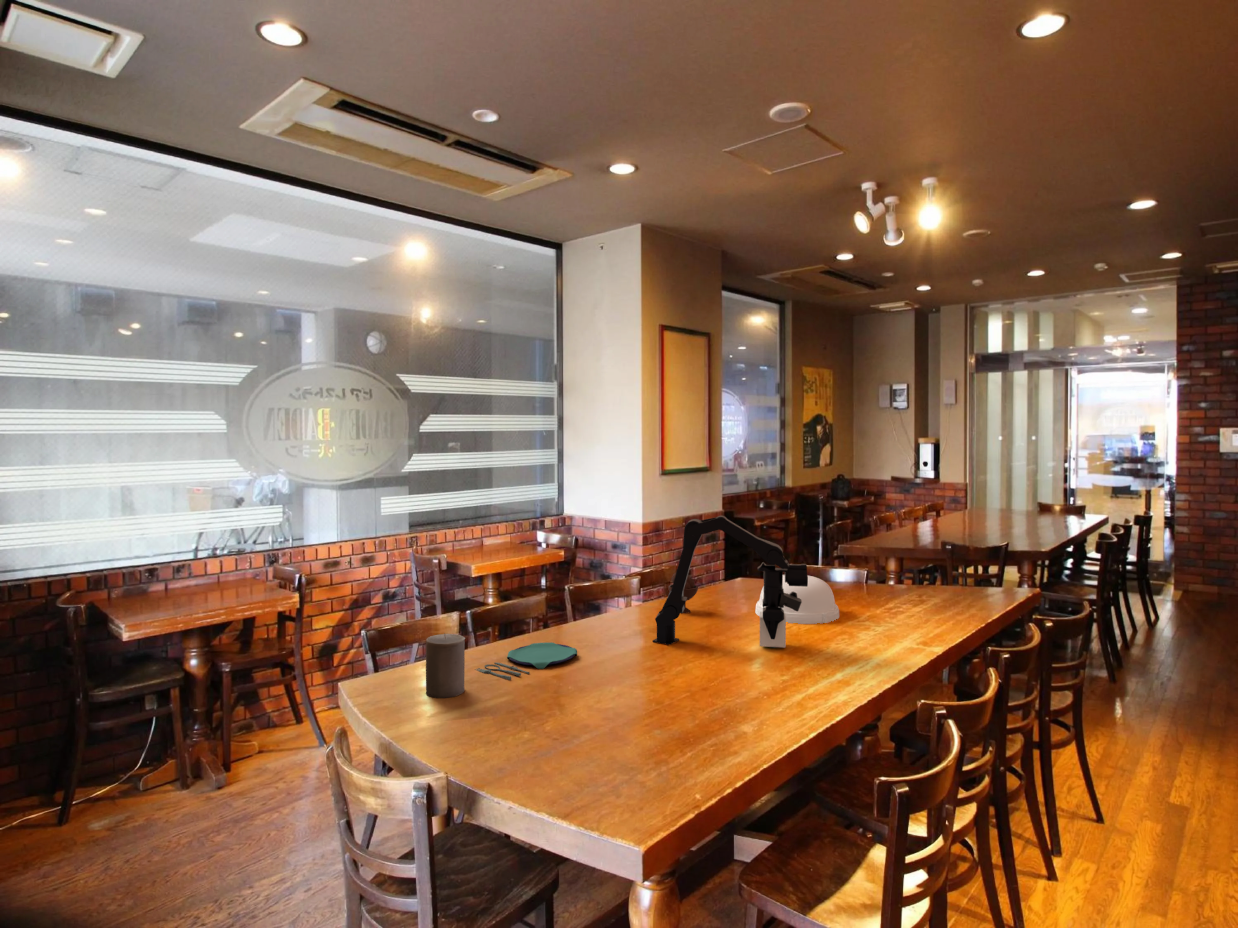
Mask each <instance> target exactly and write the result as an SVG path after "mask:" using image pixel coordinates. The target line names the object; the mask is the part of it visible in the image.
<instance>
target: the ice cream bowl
mask: <svg viewBox="0 0 1238 928" xmlns="http://www.w3.org/2000/svg"><path fill="white" fill-rule="evenodd" d="M675 575H676V572H674V573H673V574H672V576H671V578H670V579H671V582H672V583H671V584H669V585H668V587H667V589H668V592H669V593H670V591H671V589H672V586H673V582H674V579H675ZM698 591H699V586H698V585H696V584H695V580H694V579H693V578H692V577H691V576H690V575H688V576H687V579H686V583H685V587H684V591H683V597H687V599H686V602H685V604H684V611H683V613H682V614H690V613H691V609H689V608H688V607H687V606H686V603H687V602H688V601H690V600H691V599H693V598H694V596H695V595H697V592H698Z"/></svg>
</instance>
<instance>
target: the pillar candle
mask: <svg viewBox="0 0 1238 928" xmlns="http://www.w3.org/2000/svg"><path fill="white" fill-rule="evenodd" d="M465 639H466V637H464V636H463V635H460V634H453V633H443V634H442V633H441V634H436V635H431V636H428V637H427V638H426V640H425V694H426V696H429V697H431V698H434V699H447V698H448V699H449V698H455V697H457V696H460V695H461V694H463V693H465V675H466V674H465V663H466V662H465V657H466V656H465V653H466V652H465V642H466V641H465Z"/></svg>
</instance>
